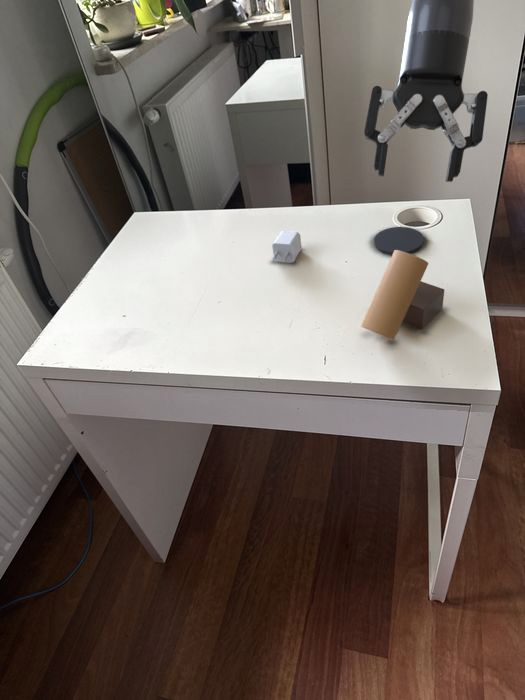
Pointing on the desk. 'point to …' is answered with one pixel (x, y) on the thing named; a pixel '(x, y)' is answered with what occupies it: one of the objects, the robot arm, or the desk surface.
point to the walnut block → (424, 306)
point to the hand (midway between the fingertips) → (414, 178)
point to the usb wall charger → (286, 246)
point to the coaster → (398, 240)
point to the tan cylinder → (394, 294)
